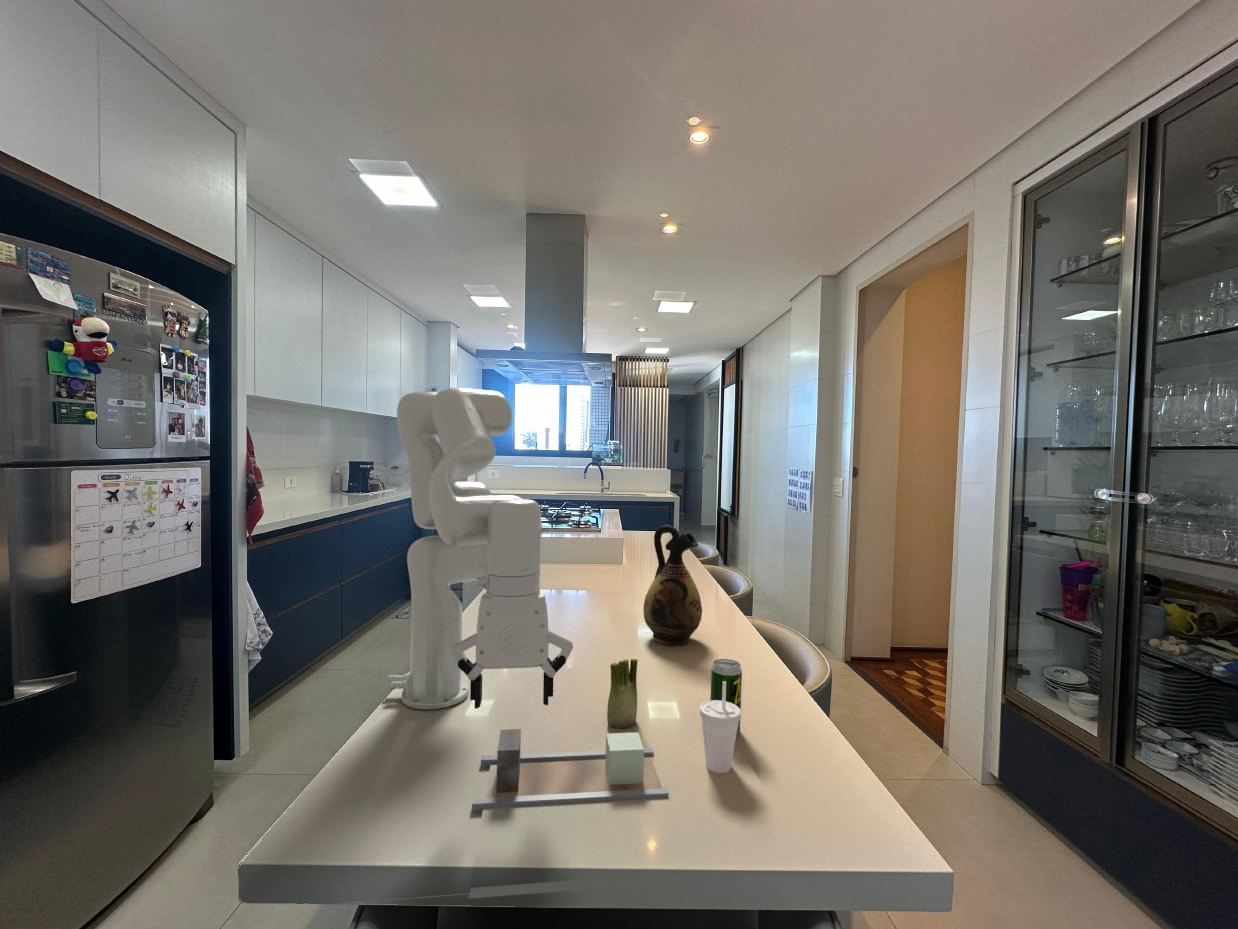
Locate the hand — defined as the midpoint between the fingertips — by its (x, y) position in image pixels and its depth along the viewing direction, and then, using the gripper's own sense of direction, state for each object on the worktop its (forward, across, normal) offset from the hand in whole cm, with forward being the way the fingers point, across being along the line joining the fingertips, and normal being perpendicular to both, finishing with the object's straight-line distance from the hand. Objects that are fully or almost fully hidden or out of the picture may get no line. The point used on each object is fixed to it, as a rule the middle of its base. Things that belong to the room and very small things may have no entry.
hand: (512, 703), depth 81 cm
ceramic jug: (+12, +38, +63) cm, 74 cm away
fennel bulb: (+12, +19, +17) cm, 28 cm away
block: (+12, +17, +1) cm, 20 cm away
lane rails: (+12, +9, +1) cm, 15 cm away
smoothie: (+13, +32, +2) cm, 34 cm away
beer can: (+13, +36, +14) cm, 41 cm away
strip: (+12, +10, +1) cm, 16 cm away
